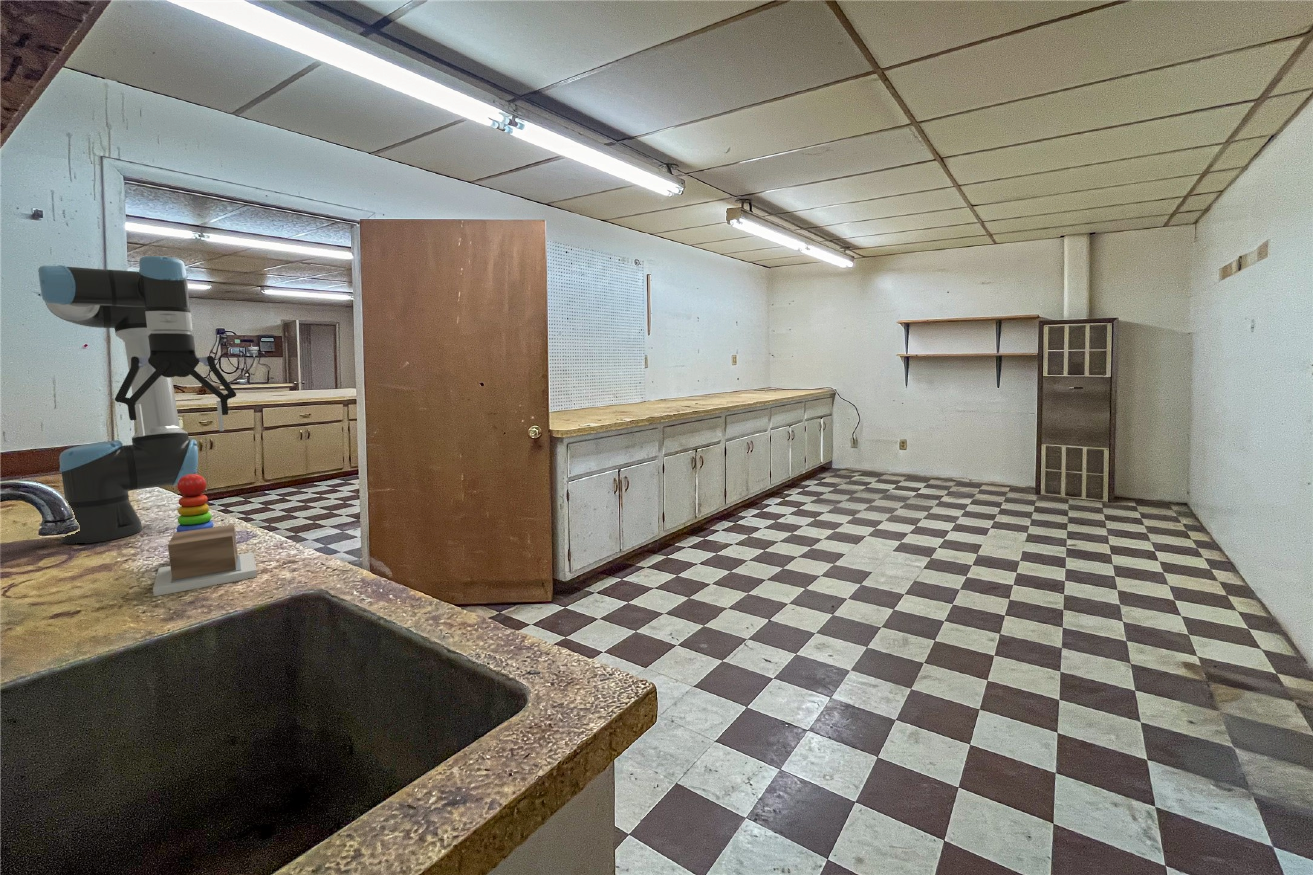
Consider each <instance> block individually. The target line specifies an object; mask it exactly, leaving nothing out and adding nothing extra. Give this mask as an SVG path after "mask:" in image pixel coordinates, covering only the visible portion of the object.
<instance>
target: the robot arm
mask: <svg viewBox="0 0 1313 875" xmlns="http://www.w3.org/2000/svg"><path fill="white" fill-rule="evenodd" d="M138 262H139V264H138V265H139V269H138V271H136V270H135V271H134V270H122V269H120V270H119V269H102V268H89V267H76V266H74V267H73V266H66V265H41V266H40V267H38V269H37V271H38V278H39V287H40V293H41V299H42V300H43V301H44V303H45V305H46V307H47V309H48V310H49V312H51V314H53V315H54V316H55V317H57V318H59V319H61V320H63V321H66V322H69V323H72V324H75V325H79V326H83V327H88V328H98V329H99V328H100V329H101V328H103V329H114V333H115V336H116V337H117V338H119V339H121V341H123V342H124V348H125V355H126V361H127V367H128V372H127V374H126V376H125V378H124V379H123V381H122V383H121V386H120V388H119V390H118V392H117V394H116V395H115V397H114V401H115V402H116V403H121V404H124V405H126V406H127V410H128V417H129V420H130V421H136V426H137V432H136V433H135V434H133V436H132V437H131V443H132V444H128V445H127V444H126V445H123V442H122V441H121V440H118V439H115V440H113V439H111V440H106V441H98V442H94V443H88V444H87V443H86V444H82V445H78V446H73V447H70V448H67V449H65V450H63V451H62V452H61V453H60V455H59V457H58V458H59V459H58V460H59V470H58V471H59V473H60V472H61V479H62V480H61V481H62V488H63V496H64V500H65V499H66V500H67V501H68V503H69V505H70V506H71V508H72V510H73V512H74V515H75V519H76V520H77V522H78V523H79V525H80V531H78V532H76V533H75V534H71V535H67V536H65V537H60V536H59V537H60V542H61V543H62V544H65V545H78V544H77V543H85V544H92V543H94V544H95V543H99V542H107V541H111V540H116V539H122V538H124V537H129V536H132V535H135V534H137V533H140V532H141V531H143V524H142V520H141V519H140V517H139V515H138V514H137V512H136V511H135V509H134V507H133V505H132V504H131V502H130V496H129V491H135V490H136V491H137V490H144V489H153V488H160V487H161V488H162V487H167V486H168V487H169V486H173V487H174V486H176V485H177V484H178V481H179V480H180V479H181V478H182V477H183V476H185V475H188V474H198V473H197V472H198V465H199V463H198V462H199V448H198V441H197V440H196V439H193V438H189V433H188V431H185V429H183V428H181V426H180V420H179V414H178V408H177V401H176V395H175V389H174V380H173V378H174V377H179V378H186V377H189V376H191V377H193V378H194V379H195V380H196V381H198V383H200V384H201V385H203V386H204V387H205V389H207V390H209V392H211V393H213V395H215V396H216V397H217V398H218V399H220V400H216V408H217V409H216V411H217V418H218V425H219V432H223V431H225V426H224V419H223V416H228V415H229V407H228V406H229V405H228V401H229V400H230V399H232V398H236V397H237V393H236V391H235V390H234V388H233V386H231V384H230V383H229V382H228V380H227V378H226V377H225V376H224V375H223V374H222V373H221V371H220V369H219V368H218V367H217V366H216V365H217V364H216V361H215V358H214V356H213V355H208V356H202V357H201V356H200V357H198V356H197V353H196V345H195V337H194V335H193V334H192V333H191V332H193V331H194V329H193V328H194V327H193V326H194V325H193V319H192V318H193V317H192V312H191V306H190V297H189V288H188V287H189V286H188V274H187V269H186V265H185V262H184V261H183V260H181V259H179V258H176V257H170V256H162V255H161V256H157V255H147V256H141V257H140V258H139V260H138ZM200 363H202V364H203V365H204V366H205V367H209V369H210V371H211V372H212V373H213V375H214V376H215V377H216V380H218V382H219V383H220V384H221V385H222V387H223V388H224V390H225V391H226V393H223V392H222V391H220V389H218V388H217V387H216V386H215V385H213V383H211V382H210V381H209V380H208V379H207V378H205V376H202V374H201V373H200V372H198V371H197V370H196V368H197V366H198V365H199V364H200ZM130 389H131V392H132V395H131V396H129V397H127V396H128V395H127V394H128V392H129V391H130ZM75 543H76V544H75Z"/></svg>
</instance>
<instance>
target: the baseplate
mask: <svg viewBox="0 0 1313 875" xmlns="http://www.w3.org/2000/svg"><path fill="white" fill-rule="evenodd" d="M254 554H255V553H254V551H253V552H246V553H240V554H239V553H238V559H237V567H236V570H233V571H227V572H221V573H215V574H209V575H203V576H197V577H191V578H185V579H179V580H173V581H172V574H171V566H170V565H169V566H164V567H159V568H158V570H157V574H156V577H155V580H154V584H153V587H152V592H153V597H158V596H163V595H168V594H169V595H170V594H174V593H180V592H184V591H185V592H186V591H190V590H196V589H201V588H207V587H211V586H216V585H217V584H218V585H223V584H229V583H234V582H238V581H244V580H248V578H250V579H254V577H255V578H258V573H257V572H258V571H257V566H256V559H255V555H254ZM233 581H234V582H233ZM218 585H217V586H218Z"/></svg>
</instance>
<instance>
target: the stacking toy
mask: <svg viewBox="0 0 1313 875" xmlns="http://www.w3.org/2000/svg"><path fill="white" fill-rule="evenodd" d="M176 485H177V486H176V487H177V488H176V489H177V491H178V492H179V493H180V494H181V495H182V497H180V498H179V499H178V504H179V507H178V508H177V514H178V515H179V516H178V517H177V523H178V525H177V526H176V532H183V531H190V530H198V529H205V528H212V527H214V523H213V521H212V517H213V516H212V513H210V512H209V510H210V506H209V505H208V504H207V502H208V499H209V498H208V497H207V495H205V494H203V493H204V492H205V491H206V489H207V481H206V479H205V478H204V477H203V476H202V475H199V474H198V473H196V474H188V475H185V476H183V477H182V478H181V479H180V480H179V481H178V484H176Z"/></svg>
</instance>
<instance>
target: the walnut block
mask: <svg viewBox="0 0 1313 875" xmlns="http://www.w3.org/2000/svg"><path fill="white" fill-rule="evenodd" d="M235 529H236V527H235V524H229V525H221V526H213V527H212V528H205V529H198V530H190V531H183V532H177V531H176V532H174V533H173V534H172V537H171V538H170V540H169V542H168V544H167V549H168V556H169V557H168V558H169V566H171V574H172V581H173V580H179V579H185V578H191V577H197V576H203V575H209V574H215V573H221V572H227V571H233V570H236V567H237V559H238V555H239V553H238V545H237V537H236V536H237V534H236V530H235Z"/></svg>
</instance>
